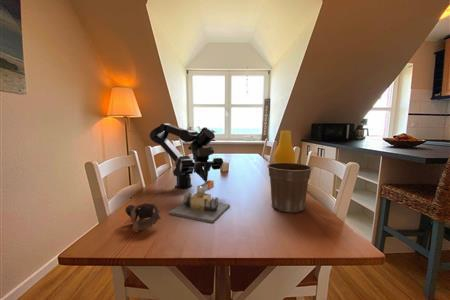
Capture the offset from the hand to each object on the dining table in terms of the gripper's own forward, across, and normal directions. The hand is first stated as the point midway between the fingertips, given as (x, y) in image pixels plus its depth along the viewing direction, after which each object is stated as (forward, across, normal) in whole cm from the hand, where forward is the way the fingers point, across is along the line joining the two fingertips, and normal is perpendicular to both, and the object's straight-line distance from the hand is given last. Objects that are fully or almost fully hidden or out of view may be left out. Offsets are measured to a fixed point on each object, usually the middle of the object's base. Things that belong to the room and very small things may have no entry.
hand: (206, 181), depth 88 cm
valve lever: (+6, -3, -4) cm, 8 cm away
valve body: (+13, -6, -2) cm, 14 cm away
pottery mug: (+16, -26, -5) cm, 30 cm away
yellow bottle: (+10, +36, +2) cm, 37 cm away
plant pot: (+20, +26, -8) cm, 34 cm away
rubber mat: (+13, -6, -2) cm, 14 cm away
